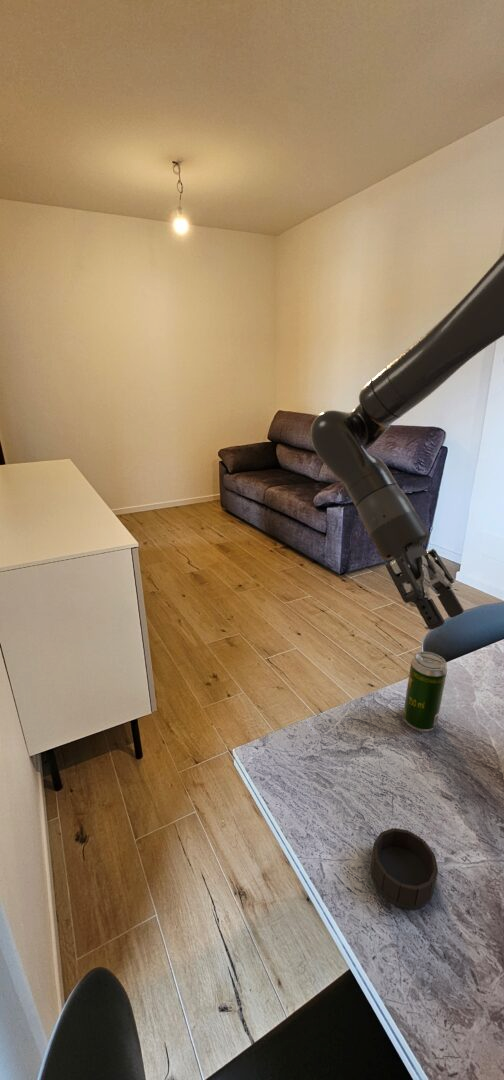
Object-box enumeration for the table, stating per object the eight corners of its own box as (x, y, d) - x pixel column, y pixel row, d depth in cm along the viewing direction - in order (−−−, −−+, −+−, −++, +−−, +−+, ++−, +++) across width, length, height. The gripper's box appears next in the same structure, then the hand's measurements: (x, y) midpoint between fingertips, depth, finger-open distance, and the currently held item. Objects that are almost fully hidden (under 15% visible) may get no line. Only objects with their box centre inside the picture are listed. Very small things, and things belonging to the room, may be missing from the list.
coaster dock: (427, 852, 55) (431, 833, 54) (439, 916, 48) (444, 896, 47) (368, 841, 56) (371, 823, 55) (372, 902, 49) (375, 882, 48)
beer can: (438, 716, 77) (449, 656, 73) (434, 737, 72) (446, 674, 68) (405, 706, 79) (414, 647, 75) (399, 726, 74) (409, 664, 70)
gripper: (392, 509, 60) (457, 620, 56) (429, 508, 71) (486, 601, 67) (349, 537, 65) (406, 642, 60) (390, 532, 76) (441, 621, 71)
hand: (448, 620), depth 63 cm, fingers open, 8 cm apart
